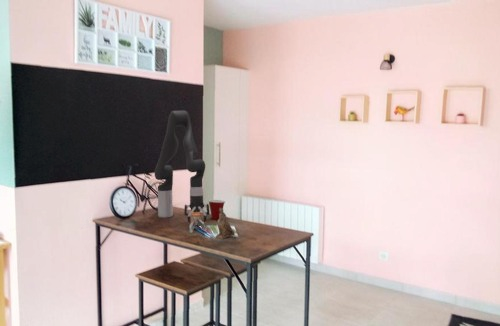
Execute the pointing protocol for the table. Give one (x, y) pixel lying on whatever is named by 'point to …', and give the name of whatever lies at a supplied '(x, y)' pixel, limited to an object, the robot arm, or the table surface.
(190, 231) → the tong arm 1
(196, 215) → the collar
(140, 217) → the table surface
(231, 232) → the brown carved statuette
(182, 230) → the table surface
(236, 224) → the table surface
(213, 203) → the plastic cup
